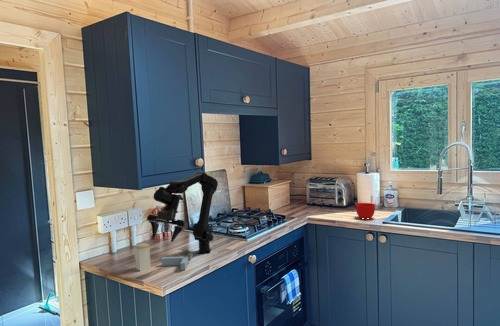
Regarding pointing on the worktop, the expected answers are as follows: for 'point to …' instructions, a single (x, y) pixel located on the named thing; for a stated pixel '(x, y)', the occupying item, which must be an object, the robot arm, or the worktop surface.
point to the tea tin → (142, 256)
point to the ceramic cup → (365, 210)
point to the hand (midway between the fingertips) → (162, 239)
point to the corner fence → (175, 261)
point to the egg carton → (183, 254)
